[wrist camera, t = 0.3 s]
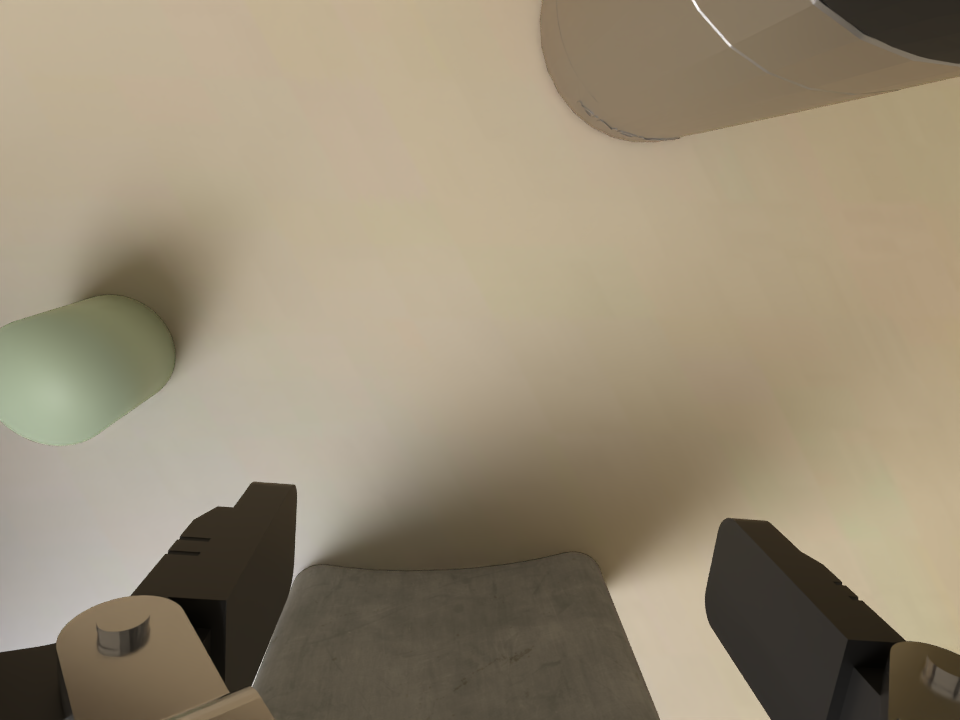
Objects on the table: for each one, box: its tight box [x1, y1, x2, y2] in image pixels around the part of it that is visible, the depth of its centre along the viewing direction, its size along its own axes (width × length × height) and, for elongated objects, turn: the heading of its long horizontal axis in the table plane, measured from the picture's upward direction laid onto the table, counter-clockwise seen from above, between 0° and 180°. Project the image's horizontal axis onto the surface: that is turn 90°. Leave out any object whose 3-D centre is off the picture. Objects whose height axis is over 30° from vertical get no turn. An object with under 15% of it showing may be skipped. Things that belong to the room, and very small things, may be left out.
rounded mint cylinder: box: [0, 295, 175, 446], centre depth 25 cm, size 5×5×5 cm
